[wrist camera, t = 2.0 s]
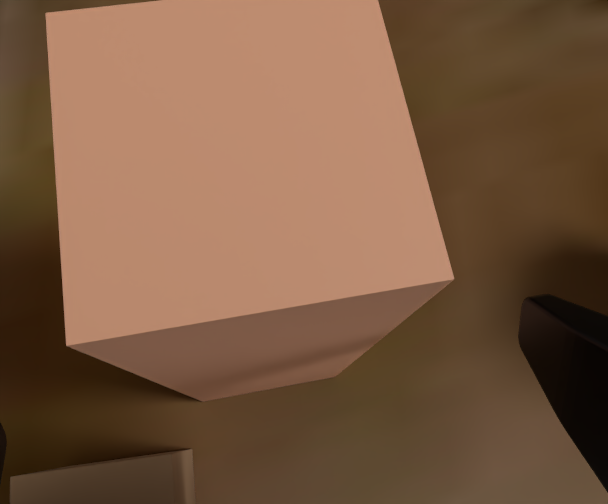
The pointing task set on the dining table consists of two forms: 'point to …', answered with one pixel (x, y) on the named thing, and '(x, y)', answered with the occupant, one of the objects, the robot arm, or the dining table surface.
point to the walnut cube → (112, 482)
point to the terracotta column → (236, 190)
